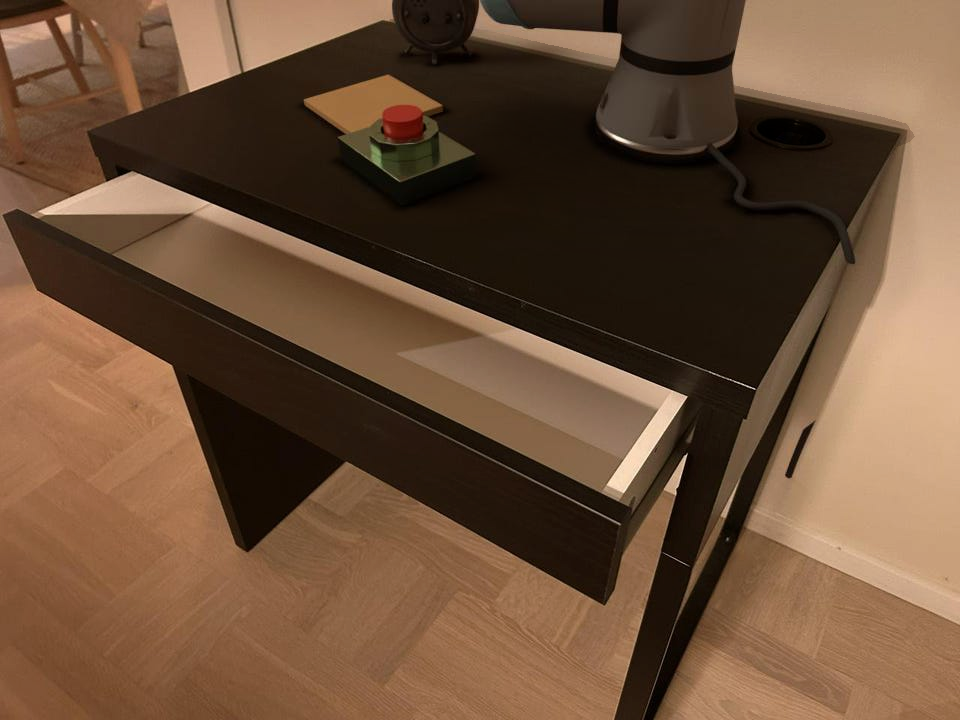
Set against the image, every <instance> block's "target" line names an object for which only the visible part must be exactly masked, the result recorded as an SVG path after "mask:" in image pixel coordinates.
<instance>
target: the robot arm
mask: <svg viewBox="0 0 960 720" xmlns="http://www.w3.org/2000/svg"><path fill="white" fill-rule="evenodd" d="M746 2H747V0H479V3H480V4H481V6H482V9H483V11H484V12H485V13H486V14H487V15H488V17H489V19H491V20H492V21H494V22H496V23H498V24H500V25H509V26H513V27H514V26H515V27H521V28H523V29H526V30H534V29H543V30H559V31H573V32H574V31H576V32H590V33H591V32H592V33H605V34H606V33H607V34H619V35H621V36H620V37H621V38H620V47H619V54H618V60H617V62H616V64H615V66H614V69H613V72H612V73H611V76H610V78H609V80H608V83H607V86H606V88H605V91H604V94H602V95H601V99H600V102H599V104H598V106H597V109H596V113H595V123H594V124H595V125H594V131H595V134H596V136H597V139H599V140H600V142H602V143H603V144H604V145H605V146H606V147H608V148H609V149H611V150H613V151H615V152H616V153H619V154H622V155H624V156H627V157H629V158H633V159H636V160H641V161H646V162H651V163H660V164H691V163H697V162H702V161H703V162H704V161H706V160H711V159H713V158H714V159H715V160H716V161H717V162H718V163H719V164H720V165H721V166H722V167H724V168H725V169H726V170H727V171H728V173H730V174H731V175H732V176H733V177H734V178H735V180H736V181H737V184H738V185H737V187H736V189H735V191H734V194H733V199H734V201H735V202H736V204H737V205H739V206H740V207H742V208H745V209H747V210H752V211H757V212H759V211H760V212H767V211H780V210H791V209H795V210H796V209H797V210H805V211H808V212H810V213H812V214H816V215H818V216H819V217H822V218H824V219H826V220H828V221H829V222H830V223H831V224H832V225H833V226H834V227H835V229H836V232H837V234H838V237H839V241H840V245H841V248H842V253H843V257H844V260H845V262H846V263H847V264H849V265H855V264H856V257H855V254H854V249H853V246H852V245H853V244H852V242H851V239H850V235H849V232H848V229H847V227H846V225H845V223H844V221H843V220H842V218H841V217H840V216H839V215H837V214H836V213H835V212H833V211H831V210H829V209H827V208H825V207H822V206H821V205H817V204H815V203H813V202H809V201H804V200H781V201H769V202H758V201H752V200H749V199H746V198H745V197H744V196H743V194H744V192H745V190H746V187H747V180H746V177H745V176H744V174H743V173H742V172H741V171H740V169H739V168H738V167H737V166H735V165H734V164H733V163H732V162H731V161H730V160H729V159H728V158H727V157H726V156H725V155H724V153H725V152H727V151H728V150H729V149H730V148H731V147H732V146H733V144H734V141H735V138H736V135H737V134H736V133H737V130H738V124H739V123H738V121H739V120H738V113H737V110H736V98H735V97H736V95H735V85H734V84H735V83H734V73H733V64H734V60H735V55H736V50H737V46H738V41H739V36H740V31H741V27H742V26H741V25H742V21H743V16H744V11H745V6H746ZM816 422H817V421H816V419H815V420H813V421H812V422H811V423H809V424H808V425H807V426H805V427H804V428H803V429H802V431H801V433H800V436H799V438H798V441H797V443H796V445H795V448H794V450H793V453H792V455H791V458H790V460H789V463H788V465H787V468H786V471H785V474H784V476H785V478H787V479H791V478H793V475H794V473H795V470H796V467H797V465H798V462H799V459H800V457H801V454H802V453H803V450H804V447H805V445H806V443H807V440H808V438H809V436H810V434H811V432H812V430H813V428H814V425H815V423H816Z"/></svg>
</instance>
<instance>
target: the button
mask: <svg viewBox="0 0 960 720" xmlns="http://www.w3.org/2000/svg"><path fill="white" fill-rule="evenodd" d="M382 119H383V128H384V135H385V136H387V137H389V138H395V139H407V138H413V137H416V136H419V135H421V134H422V133H423V132H424V128H423V113H422V110H421V109H420V108H418V107H416V106H413V105H395V106H391V107H389V108H387V109H385V110H384V111H383V113H382Z"/></svg>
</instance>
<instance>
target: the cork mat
mask: <svg viewBox="0 0 960 720" xmlns="http://www.w3.org/2000/svg"><path fill="white" fill-rule="evenodd" d="M303 103H304V106H305V107H306V108H307V109H310V110H311V111H312V112H313V113H315V114H316V115H318V116H319V117H321V118H322V119H323V120H325V121H327V122H328V123H329V124H331V125H332V126H334V127H335V128H336V129H338V130H339V131H341V132H342V133H343V134H344V135H346V134H349V133H352V132H355V131H358V130H361V129H364V128H367V127H370V126H371V125H372V124H373V123H374V122H376V121H377V120H378V119H380V118H382V113H383V111H384V110H385V109H387V108H389V107H391V106H395V105H413V106H416V107H418V108H420V109H421V110H422V113H423V116H427V117H431V116H433V115H437V114H440V113H443V112H444V107H443V104H441V103H439V102H438V101H436V100H434V99H432V98H430V97H429V96H427V95H425V94H424V93H422V92H420V91H419V90H416V89H414V88H413V87H411V86H409V85H408V84H406V83H404V82H403V81H401V80H399V79H397V78H396V77H393V76H392V75H391V74H385V75H382V76H380V77H379V76H378V77H375V78H372V79H369V80H365V81H361V82H358V83H355V84H351V85H348V86H345V87H340V88H338V89H334V90H332V91H327V92H325V93H321V94H318V95H314V96H311V97H308V98H304V99H303Z"/></svg>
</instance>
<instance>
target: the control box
mask: <svg viewBox="0 0 960 720" xmlns="http://www.w3.org/2000/svg"><path fill="white" fill-rule="evenodd" d="M423 128H424V132H423V133H422V134H421V135H419V136H416V137H413V138H407V139H395V138H389V137H387V136H385V135H384V128H383V119H382V118H380V119H378V120H377V121H376V122H374V123H373V124H372V125H371V126H370V127H367V128H364V129H361V130H358V131H355V132H352V133H349V134H343V135H340V136H338V137H337V141H338V148H339V155H340V160H341V162H343V164H346V166H348V167H349V168H351V169H352V170H353V171H354V172H356V173H357V174H359V175H360V176H362V177H363V178H364V179H365V180H366V181H368V182H369V183H370V184H372V185H373V186H374V187H376V188H377V189H379V190H380V191H381V192H383V193H384V194H385V195H387V196H388V197H389V198H391V199H392V200H393V201H395V202H396V203H397V204H399V205H400V206H401V207H404V206H407V205H409V204H412V203H414V202H417V201H419V200H423V199H424V198H428V197H430V196H432V195H434V194H438V193H440V192H442V191H445V190H448V189H450V188H453V187H455V186H458V185H461V184H463V183H466V182H468V181H471V180H474V179H476V177H477V173H476V169H477V167H476V166H477V165H476V153H475V152H473V151H472V150H471V149H468V148H467V147H465V146H464V145H462V144H460V143H459V142H457V141H455V140H454V139H452V138H450V137H449V136H447V135H446V134H444V133H442V132H441V131H439V126H438V121H436V120H435V119H432V118H431V117H430V116H428V117H427V116H423Z"/></svg>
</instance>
